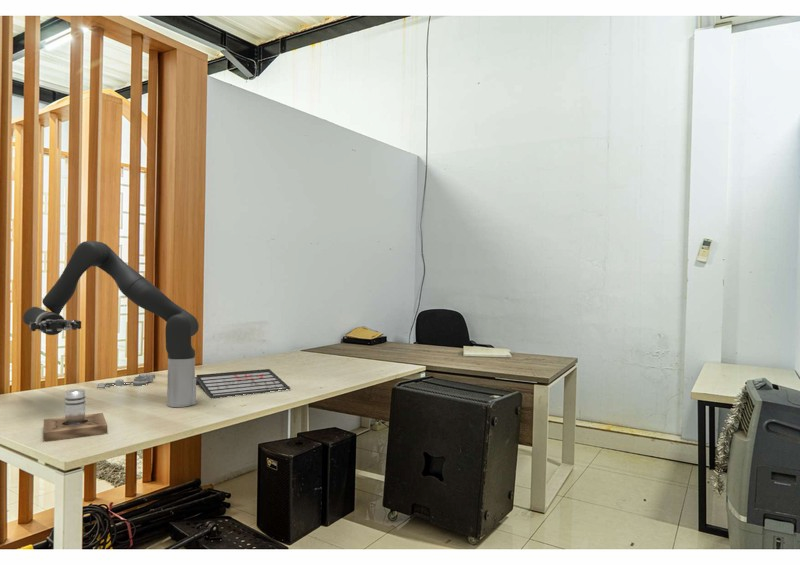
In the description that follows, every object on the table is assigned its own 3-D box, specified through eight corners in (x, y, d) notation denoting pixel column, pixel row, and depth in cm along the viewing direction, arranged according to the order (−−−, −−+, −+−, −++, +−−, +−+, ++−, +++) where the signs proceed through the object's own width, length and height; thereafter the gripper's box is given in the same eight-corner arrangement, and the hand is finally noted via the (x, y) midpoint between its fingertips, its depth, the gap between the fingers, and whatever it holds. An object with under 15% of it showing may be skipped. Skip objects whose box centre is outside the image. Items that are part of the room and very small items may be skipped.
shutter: (288, 403, 226) (264, 380, 252) (290, 387, 225) (266, 365, 252) (210, 409, 209) (192, 383, 235) (211, 391, 208) (194, 367, 234)
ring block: (102, 420, 176) (102, 412, 176) (107, 433, 162) (107, 425, 162) (43, 427, 167) (43, 419, 167) (43, 441, 154) (43, 432, 154)
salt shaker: (84, 426, 168) (84, 388, 168) (85, 431, 164) (86, 391, 164) (64, 429, 166) (64, 390, 165) (65, 433, 161) (65, 393, 161)
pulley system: (171, 382, 241) (147, 376, 247) (171, 371, 241) (147, 366, 247) (115, 396, 216) (90, 390, 223) (115, 385, 216) (91, 378, 222)
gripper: (25, 313, 182) (34, 316, 171) (73, 311, 192) (85, 314, 180) (25, 335, 183) (34, 340, 171) (73, 332, 192) (85, 337, 180)
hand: (60, 327), depth 175 cm, fingers open, 8 cm apart
